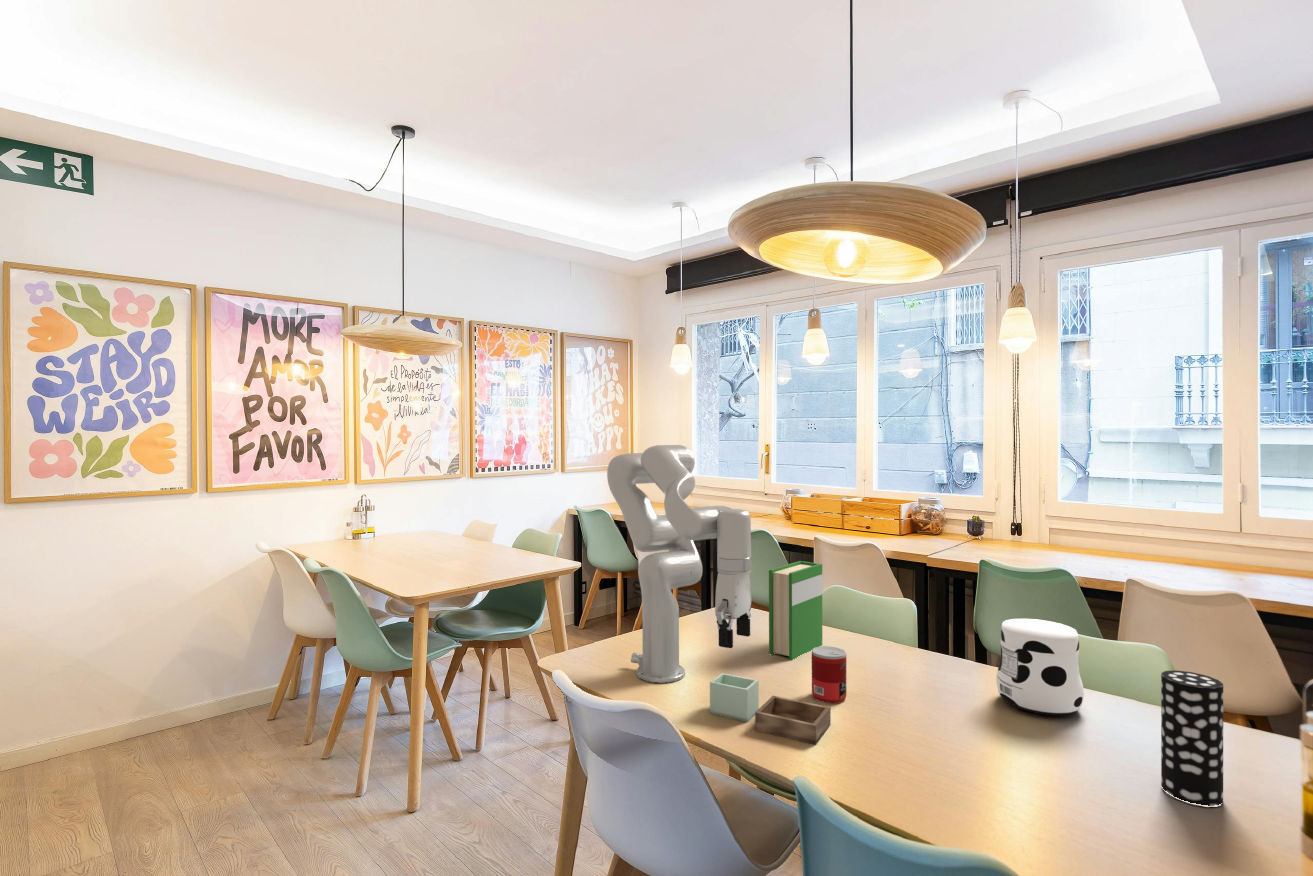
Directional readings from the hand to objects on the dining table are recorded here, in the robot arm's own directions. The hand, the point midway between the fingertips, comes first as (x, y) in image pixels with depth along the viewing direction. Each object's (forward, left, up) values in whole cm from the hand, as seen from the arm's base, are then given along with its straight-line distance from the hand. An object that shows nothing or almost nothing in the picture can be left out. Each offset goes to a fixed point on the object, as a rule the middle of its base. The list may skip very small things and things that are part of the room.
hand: (734, 641), depth 149 cm
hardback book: (-2, +49, -16) cm, 52 cm away
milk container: (+59, +38, -16) cm, 72 cm away
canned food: (+16, +19, -16) cm, 30 cm away
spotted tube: (+82, +8, -16) cm, 84 cm away
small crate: (0, 0, -16) cm, 16 cm away
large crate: (+14, -1, -16) cm, 21 cm away
